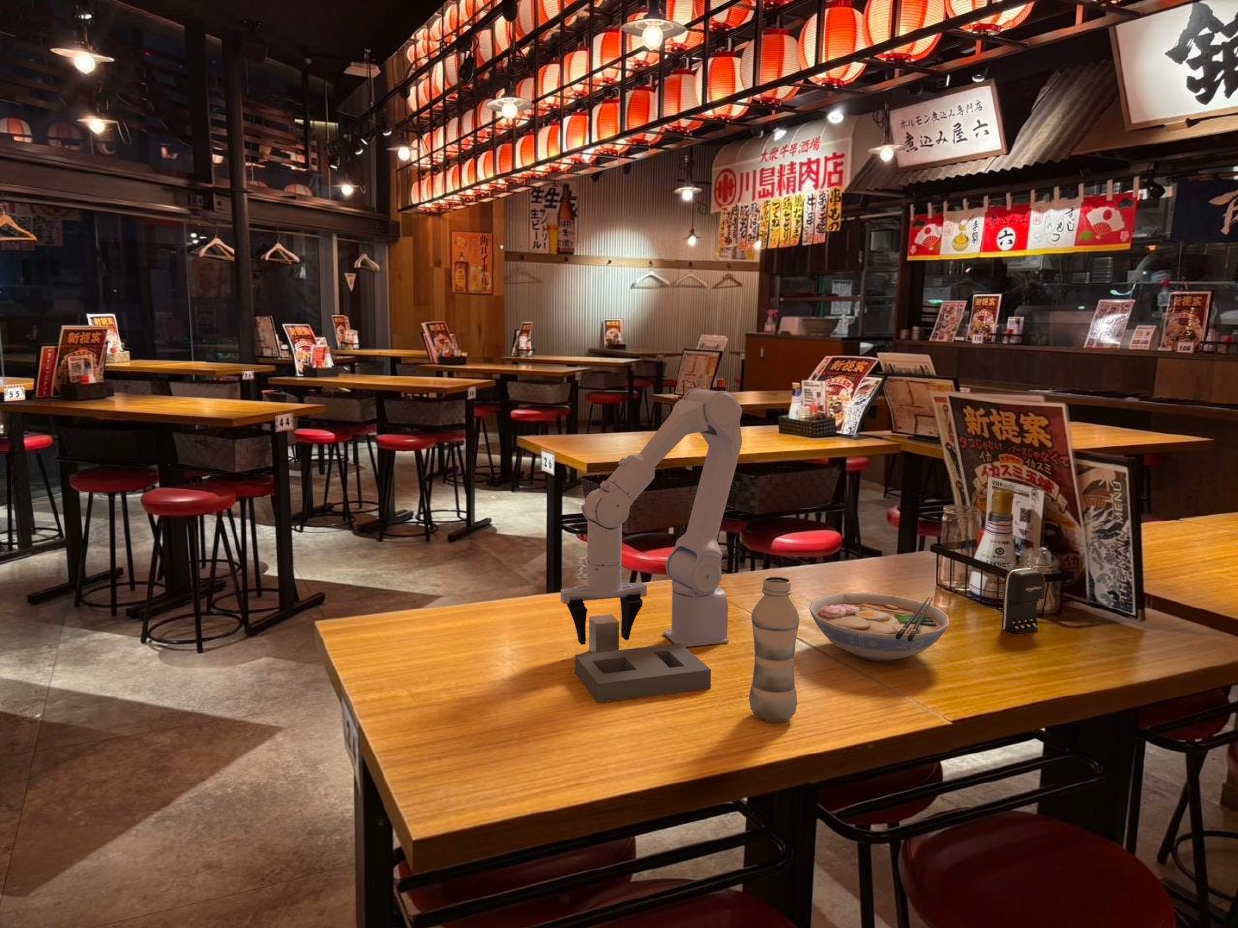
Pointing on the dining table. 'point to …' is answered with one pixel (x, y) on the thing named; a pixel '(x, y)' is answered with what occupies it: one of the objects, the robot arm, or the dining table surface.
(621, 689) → the socket block
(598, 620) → the square bit
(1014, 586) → the battery charger
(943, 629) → the ramen bowl
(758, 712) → the plastic bottle
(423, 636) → the dining table surface
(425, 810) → the dining table surface
